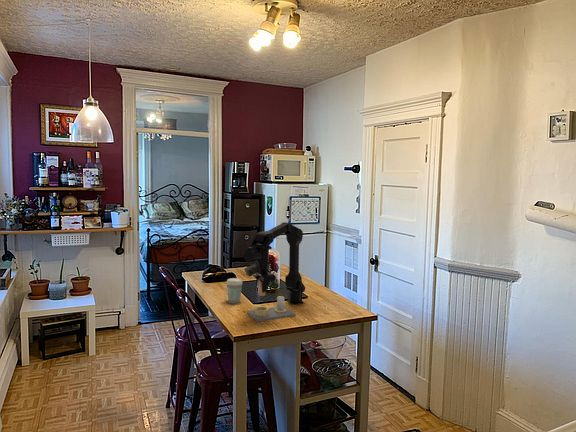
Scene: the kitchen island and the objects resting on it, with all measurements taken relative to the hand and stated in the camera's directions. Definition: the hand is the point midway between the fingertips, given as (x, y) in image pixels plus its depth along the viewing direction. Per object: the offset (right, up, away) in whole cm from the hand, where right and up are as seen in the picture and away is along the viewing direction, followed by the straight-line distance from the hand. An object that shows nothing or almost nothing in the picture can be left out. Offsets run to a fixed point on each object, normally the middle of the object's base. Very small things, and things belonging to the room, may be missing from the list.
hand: (261, 291), depth 206 cm
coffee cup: (-16, -9, +21) cm, 28 cm away
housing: (+4, -12, +3) cm, 13 cm away
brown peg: (0, -2, 0) cm, 2 cm away
